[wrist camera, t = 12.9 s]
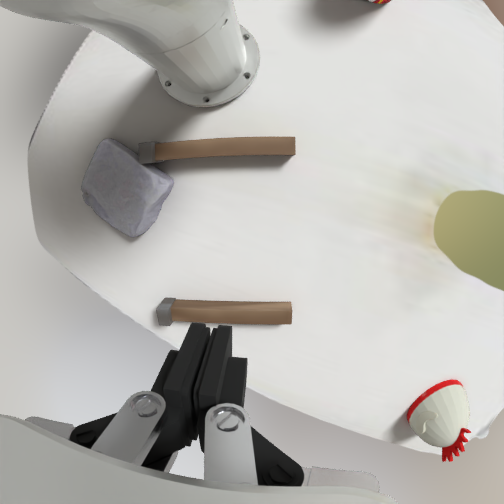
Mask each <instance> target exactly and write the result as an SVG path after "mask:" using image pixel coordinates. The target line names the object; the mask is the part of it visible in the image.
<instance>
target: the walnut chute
mask: <svg viewBox="0 0 504 504" xmlns="http://www.w3.org/2000/svg"><path fill="white" fill-rule="evenodd" d="M240 155H295V137H235V138H215V139H200V140H188V141H177V142H168V143H156V142H147V143H140V144H139V164H145V163H157V162H163V160H172V159H184V158H198V157H215V156H240ZM156 311H157V316H158V321H159V325H163V326H170V325H171V324H172V322H173V321H186V322H205V323H230V324H291V323H292V306H291V302H239V301H202V300H177V299H176V298H164V300H163V301H162V303H161V304H160V305H159V307H158V308H157V310H156Z"/></svg>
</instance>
